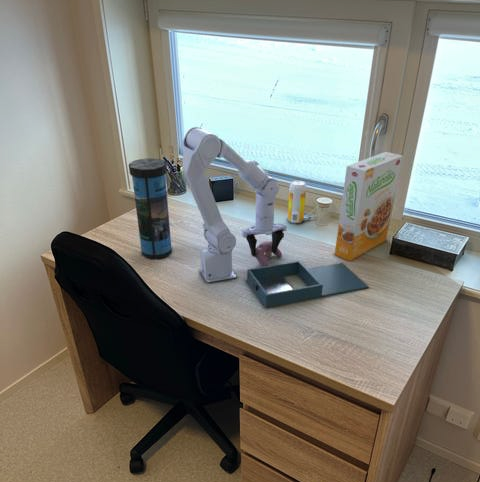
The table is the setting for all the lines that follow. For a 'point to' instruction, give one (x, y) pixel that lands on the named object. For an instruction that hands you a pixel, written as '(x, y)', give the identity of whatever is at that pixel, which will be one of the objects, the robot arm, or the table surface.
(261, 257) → the video game controller
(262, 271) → the box
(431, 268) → the table surface
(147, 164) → the advertising column
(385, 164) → the cereal box
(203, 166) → the robot arm
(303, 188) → the beer can
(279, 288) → the silver plate
